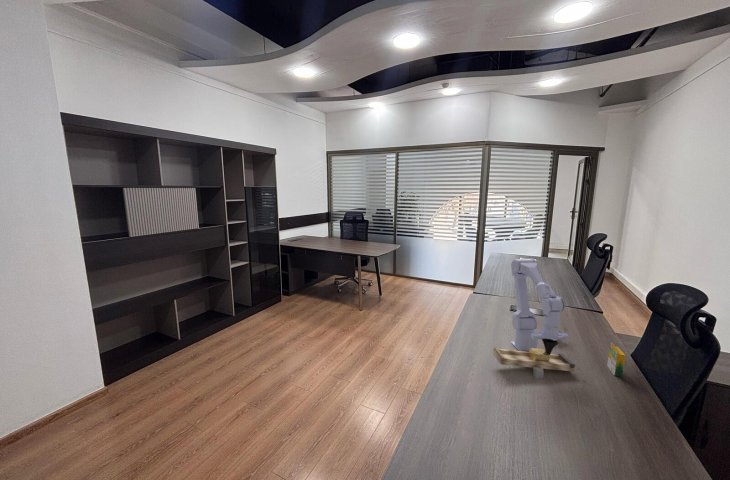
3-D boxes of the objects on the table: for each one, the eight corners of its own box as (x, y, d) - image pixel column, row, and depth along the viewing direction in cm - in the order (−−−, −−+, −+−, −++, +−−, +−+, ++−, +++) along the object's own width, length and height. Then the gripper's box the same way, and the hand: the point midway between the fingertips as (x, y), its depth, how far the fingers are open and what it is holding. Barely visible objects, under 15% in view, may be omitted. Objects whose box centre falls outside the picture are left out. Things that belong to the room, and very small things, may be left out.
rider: (541, 357, 129) (543, 348, 129) (548, 363, 124) (550, 355, 124) (528, 355, 129) (530, 347, 128) (534, 362, 124) (536, 354, 124)
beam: (560, 361, 132) (562, 353, 131) (573, 373, 123) (575, 364, 122) (492, 354, 131) (493, 346, 131) (501, 366, 123) (502, 357, 122)
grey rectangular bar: (525, 359, 134) (526, 351, 134) (542, 378, 121) (543, 369, 120) (518, 359, 134) (519, 351, 134) (535, 378, 121) (536, 369, 120)
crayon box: (622, 377, 121) (627, 351, 119) (614, 375, 122) (618, 350, 120) (615, 367, 128) (618, 342, 126) (606, 365, 129) (610, 341, 127)
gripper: (539, 329, 120) (536, 359, 122) (574, 329, 120) (570, 359, 122) (529, 321, 127) (527, 350, 129) (563, 321, 127) (559, 350, 129)
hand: (547, 354), depth 126 cm, fingers closed, pressing on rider
